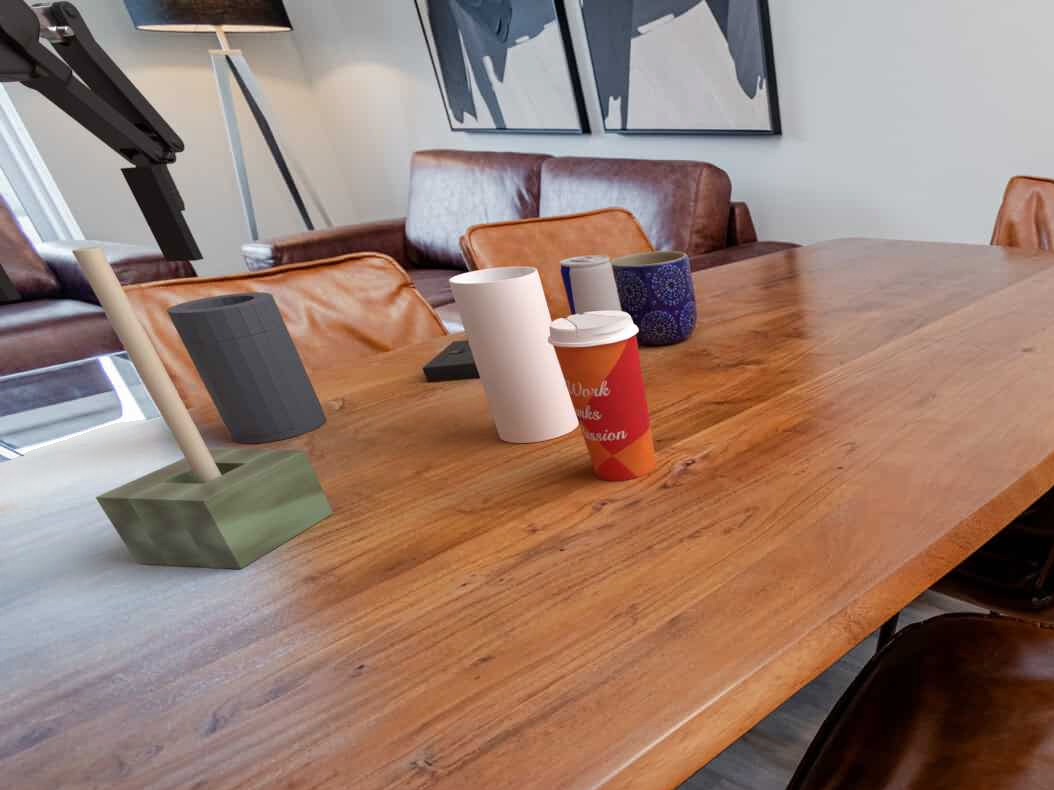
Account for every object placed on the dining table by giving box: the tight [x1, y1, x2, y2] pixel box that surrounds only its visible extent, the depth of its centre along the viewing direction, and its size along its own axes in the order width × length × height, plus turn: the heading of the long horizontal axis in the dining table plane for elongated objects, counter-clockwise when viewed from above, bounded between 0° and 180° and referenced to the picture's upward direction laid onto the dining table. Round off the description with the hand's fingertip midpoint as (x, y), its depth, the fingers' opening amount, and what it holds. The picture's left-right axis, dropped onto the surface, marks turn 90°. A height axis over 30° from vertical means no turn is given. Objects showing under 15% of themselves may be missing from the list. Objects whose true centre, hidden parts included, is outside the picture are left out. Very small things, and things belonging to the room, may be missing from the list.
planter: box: [609, 250, 698, 347], centre depth 116 cm, size 11×11×11 cm
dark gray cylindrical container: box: [166, 291, 327, 445], centre depth 90 cm, size 9×9×14 cm
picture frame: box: [422, 339, 480, 383], centre depth 113 cm, size 13×2×18 cm
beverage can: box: [559, 254, 622, 315], centre depth 97 cm, size 6×6×15 cm
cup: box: [448, 266, 579, 444], centre depth 85 cm, size 8×8×16 cm
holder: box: [95, 448, 334, 570], centre depth 69 cm, size 10×10×6 cm
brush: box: [71, 246, 221, 484], centre depth 64 cm, size 3×3×23 cm
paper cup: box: [548, 311, 657, 482], centre depth 75 cm, size 8×8×14 cm
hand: (101, 279), depth 59 cm, fingers open, 13 cm apart
